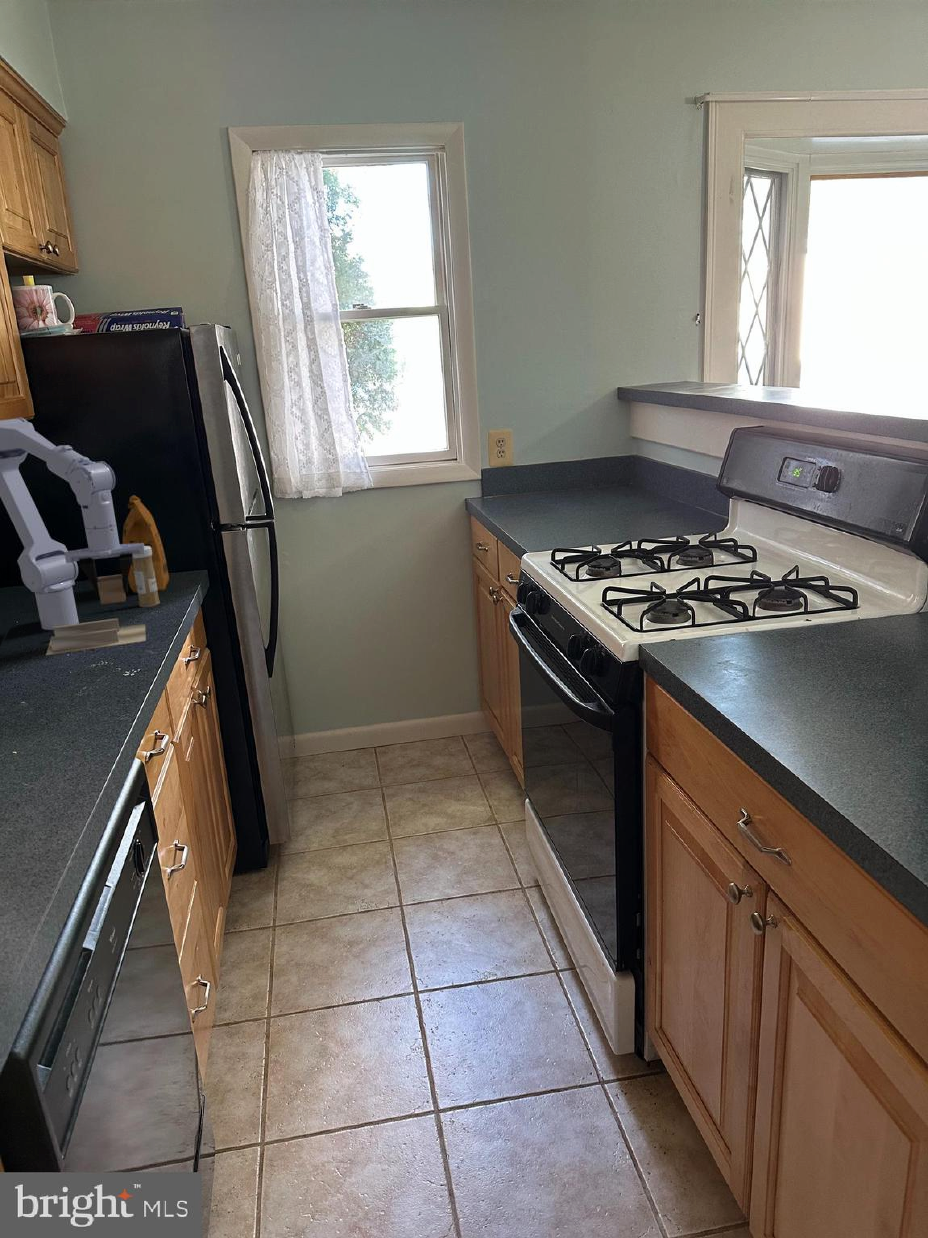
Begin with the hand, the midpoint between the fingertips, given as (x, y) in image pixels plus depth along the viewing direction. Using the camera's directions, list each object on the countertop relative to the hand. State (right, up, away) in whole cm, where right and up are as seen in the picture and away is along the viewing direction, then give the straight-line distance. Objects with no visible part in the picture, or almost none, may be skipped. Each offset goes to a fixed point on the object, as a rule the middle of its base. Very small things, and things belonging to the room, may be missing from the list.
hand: (112, 593), depth 177 cm
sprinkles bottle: (-2, -2, +26) cm, 26 cm away
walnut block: (0, -1, 0) cm, 1 cm away
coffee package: (-8, +3, +42) cm, 43 cm away
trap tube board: (-3, -10, 0) cm, 10 cm away
